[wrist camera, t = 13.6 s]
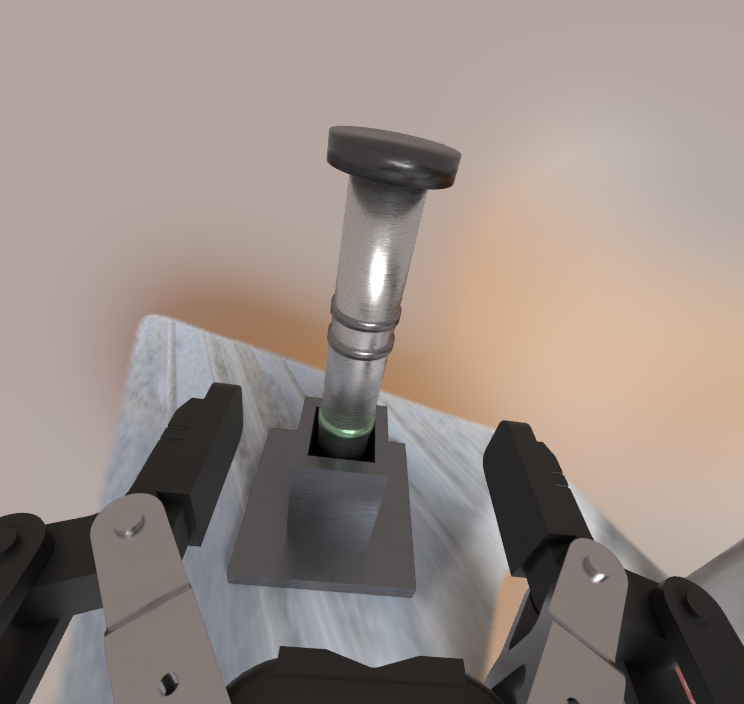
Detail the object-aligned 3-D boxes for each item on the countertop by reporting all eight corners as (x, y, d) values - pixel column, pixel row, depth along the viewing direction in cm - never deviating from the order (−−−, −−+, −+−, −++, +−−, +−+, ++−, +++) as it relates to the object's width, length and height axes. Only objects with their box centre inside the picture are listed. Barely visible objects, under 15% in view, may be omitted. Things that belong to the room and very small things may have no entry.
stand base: (402, 452, 41) (424, 383, 35) (411, 597, 30) (447, 531, 24) (270, 437, 40) (270, 363, 34) (228, 583, 29) (218, 509, 23)
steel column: (379, 421, 32) (450, 142, 20) (380, 482, 28) (473, 167, 15) (308, 412, 32) (335, 120, 19) (296, 474, 27) (321, 138, 15)
